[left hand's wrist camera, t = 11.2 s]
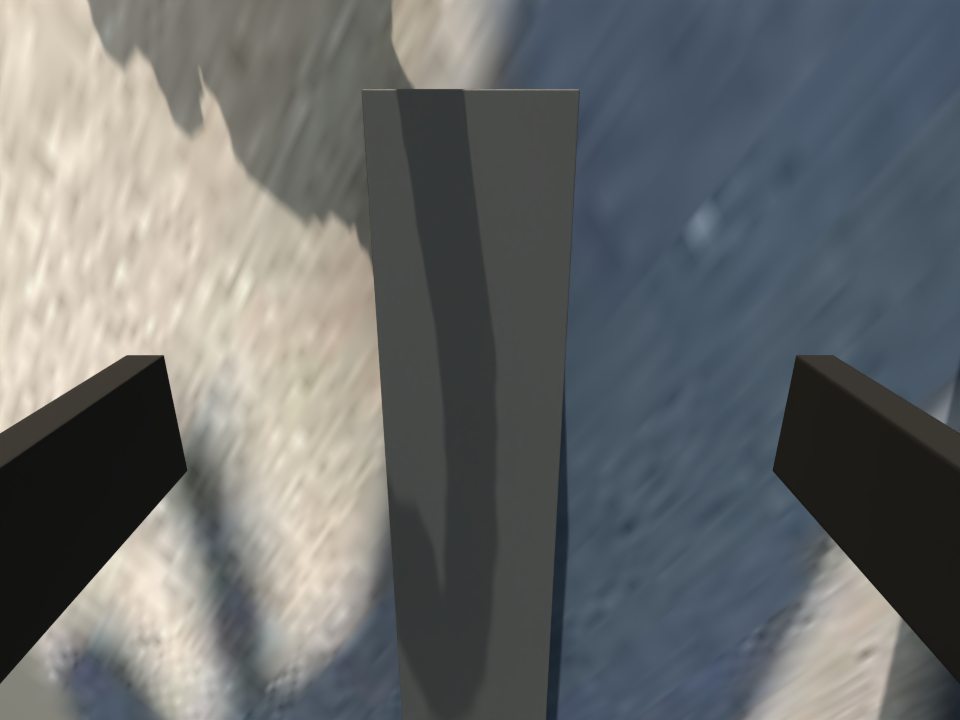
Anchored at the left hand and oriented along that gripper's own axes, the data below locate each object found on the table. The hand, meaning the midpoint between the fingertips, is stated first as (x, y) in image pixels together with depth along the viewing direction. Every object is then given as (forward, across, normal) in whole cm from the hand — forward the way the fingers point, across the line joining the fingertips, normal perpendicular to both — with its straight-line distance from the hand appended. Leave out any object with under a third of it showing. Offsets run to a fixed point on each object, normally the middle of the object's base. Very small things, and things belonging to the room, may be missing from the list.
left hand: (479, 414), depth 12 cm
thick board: (+23, 0, -29) cm, 37 cm away
